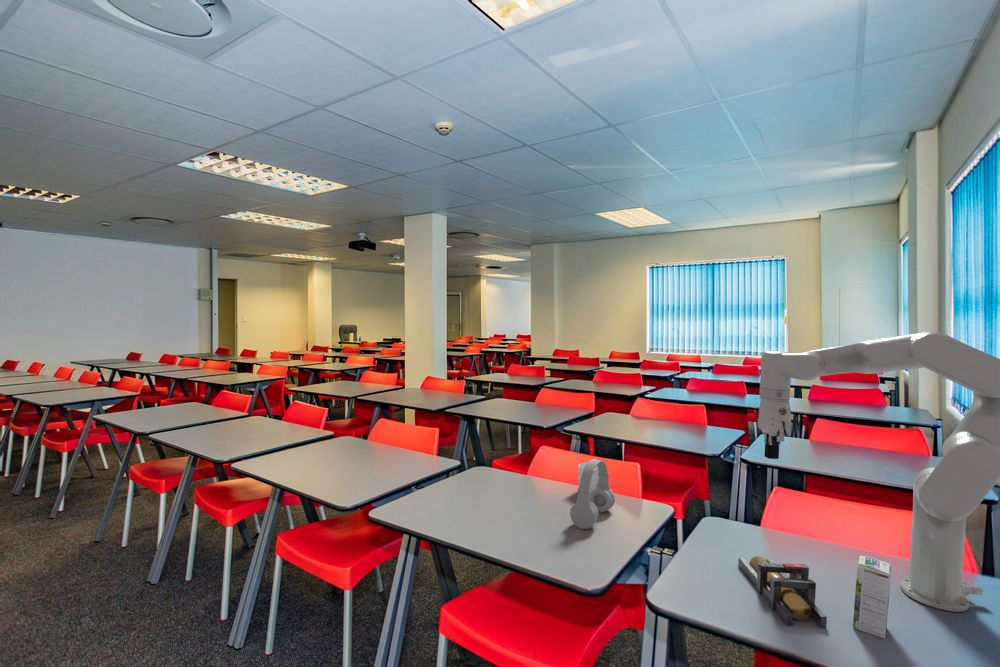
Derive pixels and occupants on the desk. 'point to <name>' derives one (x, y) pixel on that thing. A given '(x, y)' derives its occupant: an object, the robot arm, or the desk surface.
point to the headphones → (592, 496)
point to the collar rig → (795, 581)
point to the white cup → (593, 480)
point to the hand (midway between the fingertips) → (771, 457)
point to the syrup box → (872, 596)
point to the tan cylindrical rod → (786, 594)
